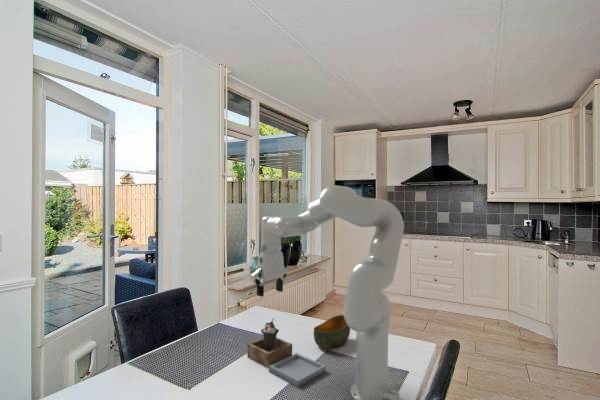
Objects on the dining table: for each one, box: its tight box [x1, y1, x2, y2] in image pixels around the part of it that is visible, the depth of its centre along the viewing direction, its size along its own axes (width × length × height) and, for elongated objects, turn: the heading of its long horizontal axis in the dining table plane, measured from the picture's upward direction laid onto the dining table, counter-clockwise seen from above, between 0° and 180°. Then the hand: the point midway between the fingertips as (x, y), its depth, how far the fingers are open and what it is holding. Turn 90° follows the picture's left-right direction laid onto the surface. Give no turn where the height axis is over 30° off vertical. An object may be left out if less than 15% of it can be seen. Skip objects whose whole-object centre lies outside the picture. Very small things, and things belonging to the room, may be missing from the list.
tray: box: [268, 352, 327, 388], centre depth 113 cm, size 14×14×2 cm
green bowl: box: [313, 314, 351, 351], centre depth 137 cm, size 13×20×10 cm, turn 104°
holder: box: [246, 336, 293, 369], centre depth 124 cm, size 12×12×5 cm
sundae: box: [260, 318, 280, 352], centre depth 124 cm, size 7×7×15 cm
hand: (270, 293), depth 125 cm, fingers open, 9 cm apart
